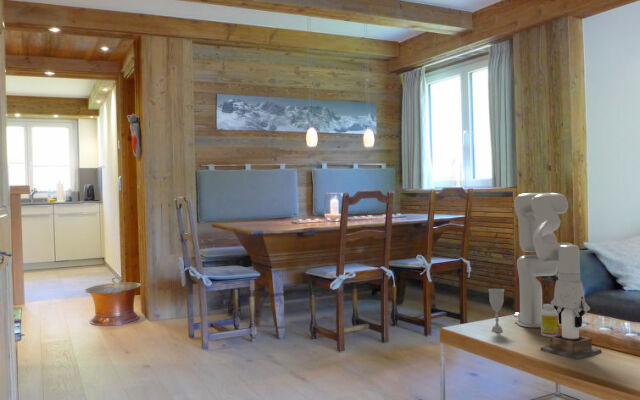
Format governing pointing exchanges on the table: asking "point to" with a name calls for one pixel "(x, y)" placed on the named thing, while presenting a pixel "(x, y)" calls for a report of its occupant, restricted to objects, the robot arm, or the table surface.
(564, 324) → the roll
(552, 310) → the supplement bottle
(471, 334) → the table surface
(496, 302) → the chalice
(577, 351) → the brown wooden open box
